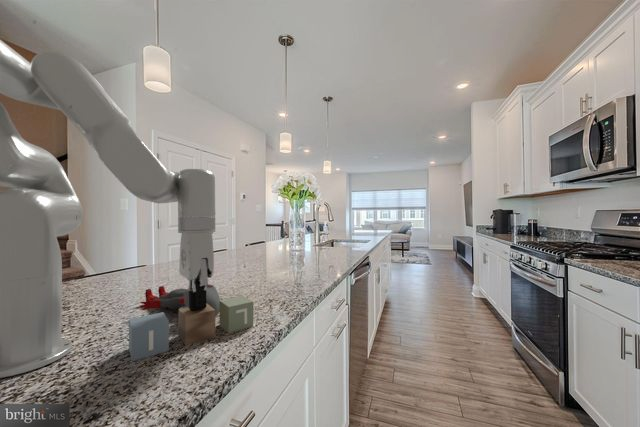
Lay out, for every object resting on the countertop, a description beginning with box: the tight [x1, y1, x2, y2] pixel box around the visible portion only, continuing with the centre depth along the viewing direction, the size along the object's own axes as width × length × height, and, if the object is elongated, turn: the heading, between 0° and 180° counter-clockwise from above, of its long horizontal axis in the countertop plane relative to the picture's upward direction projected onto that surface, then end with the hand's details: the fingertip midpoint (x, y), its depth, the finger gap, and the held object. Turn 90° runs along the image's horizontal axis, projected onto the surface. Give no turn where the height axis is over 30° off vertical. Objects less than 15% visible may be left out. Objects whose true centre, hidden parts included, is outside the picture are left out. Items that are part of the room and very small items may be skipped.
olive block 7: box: [218, 295, 254, 334], centre depth 64 cm, size 6×6×6 cm
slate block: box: [128, 311, 170, 361], centre depth 53 cm, size 6×6×6 cm
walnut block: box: [178, 303, 216, 346], centre depth 59 cm, size 6×6×6 cm
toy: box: [139, 283, 221, 318], centre depth 74 cm, size 16×10×30 cm
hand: (197, 308), depth 59 cm, fingers closed
